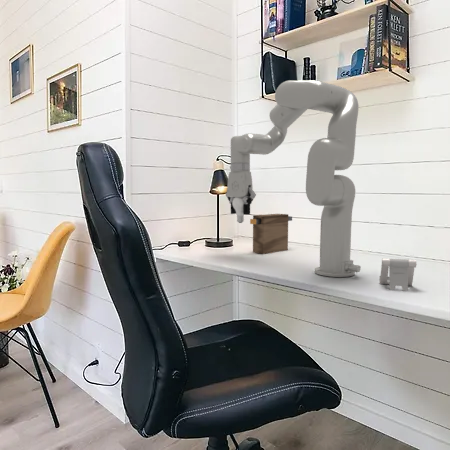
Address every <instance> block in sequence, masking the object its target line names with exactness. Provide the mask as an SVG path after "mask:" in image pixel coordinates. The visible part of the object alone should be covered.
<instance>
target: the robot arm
mask: <svg viewBox="0 0 450 450" xmlns="http://www.w3.org/2000/svg"><path fill="white" fill-rule="evenodd" d="M274 99H275V102H276V105H275V106H274V107H272V108H271V110H270V111H269V119H270V121H271V123H272V124H273V127H272V128H271V129H270V130H269V131H268V132H267V133H266V134H261V133H252V132H251V133H245V134H242V135H235V136H232V137H231V138H230V166H229V169H230V171H229V172H228V178H227V187H226V188H227V189H226V192H225V196H226V198H227V200H228V202H229V204H230V214H231V215H233V214H234V215H235V214H236V211H235V209H234V207H233V205H232V201H233V199H234V198H235V197H243V200H244V203H245V204H244V205H243V214H244V215H245V216H247V215H251V205H252V204H253V203H252V202H253V201H254V199H255V198H256V196H257V193H256V192H255V191H254V188H253V178H252V172H251V155H263V156H264V155H265V156H266V155H269V154H271V153H273V152H274V151H275V150H276V149H277V148H278V147H279V146H281V145H282V144H283V142H284V141H285V139H286V136H287V133H288V128H289V127H290V126H292V124H294V123H295V122H296V121H297V119H299V118H300V117H301V116H302V115H303V114H304V113H305V112H306V111H308V110H313V111H319V112H324V113H330V114H332V116H331V118H330V120H329V123H328V126H327V137H323V138H319V139H317V140H316V141H314V142H313V143H312V145H311V147H310V148H309V151H308V154H307V163H306V178H305V195H306V197H307V200H308V201H309V203H311V204H312V205H315V206H319V207H323V208H322V212H321V217H320V235H319V237H320V239H319V241H320V243H319V266H317V267H315V268H314V273H315V274H316V275H318V276H319V275H320V276H323V277H331V278H333V277H334V278H348V277H353V276H354V275H356V273H360V272H361V267H362V266H361V265H359V264H354V260H352V259H351V252H352V251H351V249H352V248H351V245H352V244H351V243H352V218H353V217H352V216H353V208H354V202H355V198H356V186H355V184H354V181H353V180H352V179H351V178H349V177H348V176H345V175H343V174H335V171H345V170H348V169H349V168H350V167H352V165H353V163H354V159H355V158H354V157H355V150H356V148H355V147H356V137H357V135H356V134H357V123H358V118H359V117H358V115H359V108H360V106H359V101H358V99H357V97H356V95H355V94H354V93H353V92H352V91H350V90H349V89H347V88H344V87H342V86H339V85H336V84H332V83H328V82H323V81H319V80H314V79H313V80H311V79H310V80H309V79H308V80H293V79H292V80H290V79H289V80H285V81H283V82H281V83H280V84H279V85H278V87H276V90H275V93H274ZM246 198H247V199H246ZM236 215H237V214H236Z"/></svg>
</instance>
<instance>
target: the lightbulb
mask: <svg viewBox="0 0 450 450" xmlns="http://www.w3.org/2000/svg"><path fill="white" fill-rule="evenodd" d="M246 199H247V198H246ZM244 204H245V203H244V200H243V197H235V198H234V199H233V201H232V205H233V207H234V209H235V211H236V222H237V223H239V224H242V223H243V222H245V219H244V218H245V217H244V214H243V205H244Z"/></svg>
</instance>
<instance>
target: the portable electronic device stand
mask: <svg viewBox="0 0 450 450" xmlns="http://www.w3.org/2000/svg"><path fill="white" fill-rule="evenodd" d="M416 268H417V260H416V259H409V258H408V259H407V258H405V259H403V258H384V257H382V258H381V266H380V276H379V285H389V288H388V289H389V290H390V291H395V290H396V287H401V289H402V292H408V291H409V287H412V286H413V282H414V274H415V269H416Z"/></svg>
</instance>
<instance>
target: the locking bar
mask: <svg viewBox="0 0 450 450" xmlns="http://www.w3.org/2000/svg"><path fill="white" fill-rule="evenodd" d="M249 219H250V221H249V224H250V225H253V224H261V218H260V219H253V218H249ZM292 221H293V216H291V215H290V216H289V215H288V222H292Z"/></svg>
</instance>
